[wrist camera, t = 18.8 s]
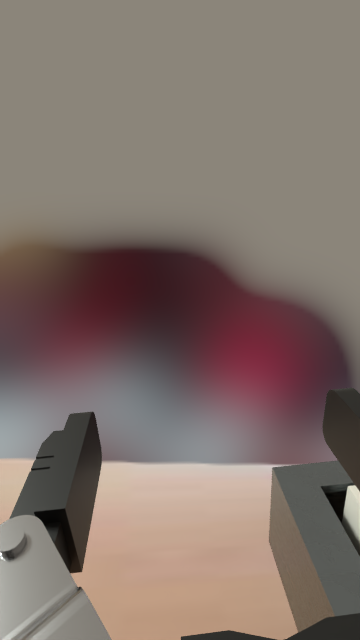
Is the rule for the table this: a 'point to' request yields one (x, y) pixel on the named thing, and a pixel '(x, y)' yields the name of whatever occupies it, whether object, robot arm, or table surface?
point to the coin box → (314, 541)
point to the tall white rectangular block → (352, 516)
